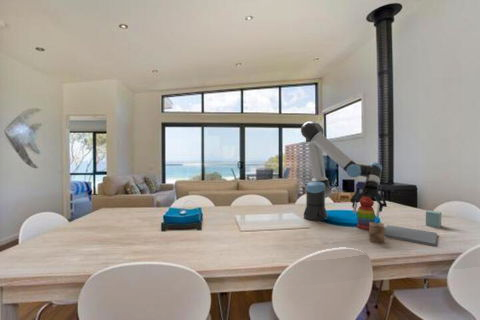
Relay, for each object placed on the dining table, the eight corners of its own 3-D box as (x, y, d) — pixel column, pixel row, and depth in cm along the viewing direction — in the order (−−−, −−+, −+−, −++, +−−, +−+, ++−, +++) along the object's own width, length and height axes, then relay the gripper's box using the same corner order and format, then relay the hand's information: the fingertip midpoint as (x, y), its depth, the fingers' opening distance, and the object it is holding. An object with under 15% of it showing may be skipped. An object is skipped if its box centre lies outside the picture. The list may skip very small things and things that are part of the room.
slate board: (380, 235, 124) (380, 233, 124) (387, 227, 139) (387, 224, 139) (435, 246, 110) (435, 243, 110) (436, 235, 125) (436, 232, 125)
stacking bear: (380, 230, 133) (380, 198, 132) (362, 230, 133) (362, 198, 133) (370, 225, 144) (370, 195, 143) (353, 224, 144) (353, 195, 143)
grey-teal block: (425, 225, 143) (425, 211, 143) (428, 223, 147) (428, 210, 146) (438, 227, 138) (438, 213, 138) (441, 225, 142) (441, 212, 142)
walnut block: (369, 241, 116) (370, 225, 116) (369, 238, 121) (369, 222, 121) (384, 243, 113) (384, 226, 113) (383, 239, 119) (383, 223, 118)
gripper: (395, 189, 142) (390, 221, 130) (352, 186, 157) (344, 214, 146) (394, 181, 138) (389, 213, 126) (350, 178, 153) (341, 207, 142)
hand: (365, 214), depth 136 cm, fingers open, 11 cm apart
